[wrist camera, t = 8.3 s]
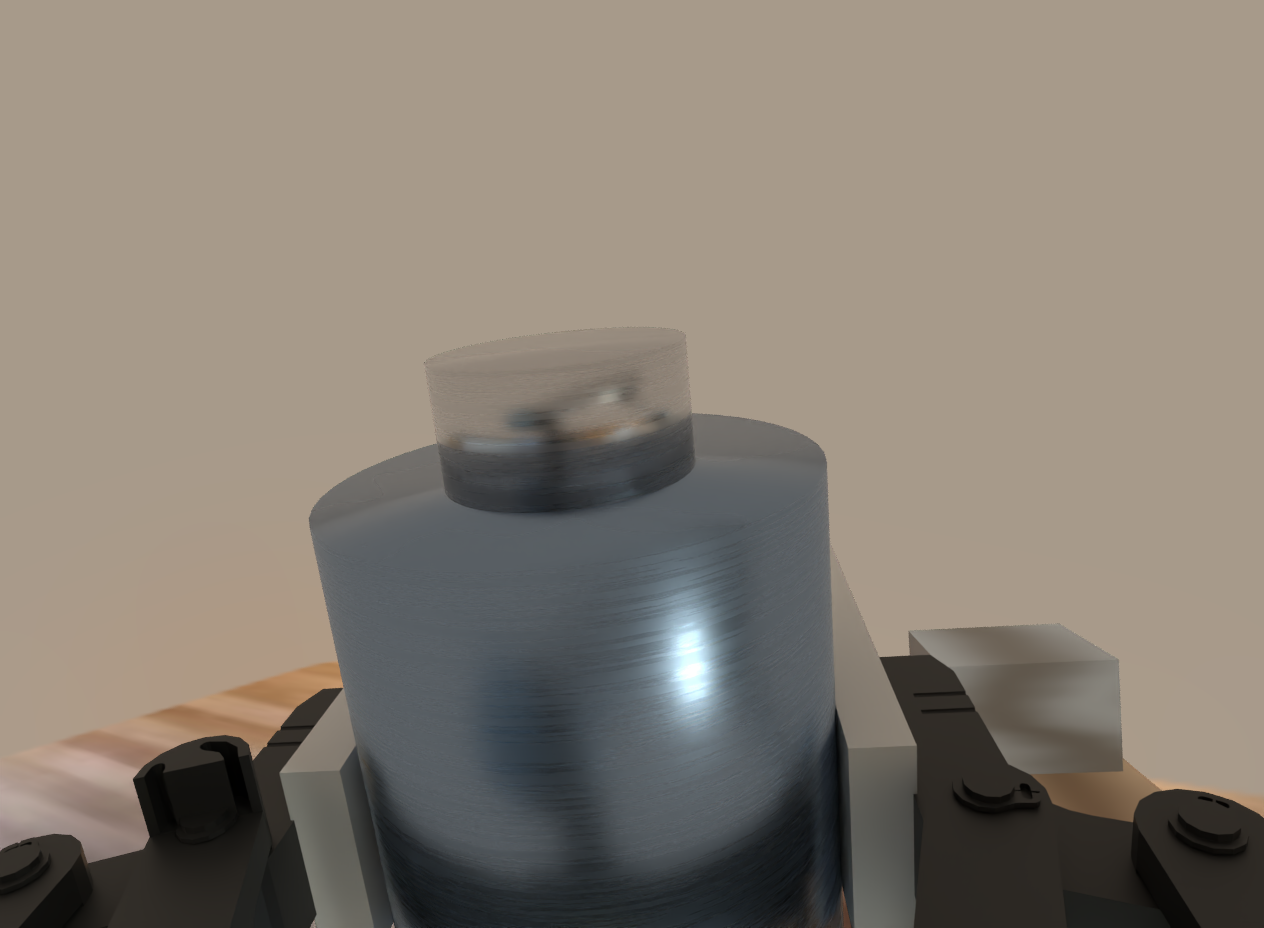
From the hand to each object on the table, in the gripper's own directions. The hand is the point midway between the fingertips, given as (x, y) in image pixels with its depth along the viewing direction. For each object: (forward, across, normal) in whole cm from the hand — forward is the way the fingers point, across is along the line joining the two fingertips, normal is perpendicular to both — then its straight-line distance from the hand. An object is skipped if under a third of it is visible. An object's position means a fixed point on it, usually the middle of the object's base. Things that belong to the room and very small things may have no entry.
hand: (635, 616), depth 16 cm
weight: (-5, 0, -6) cm, 8 cm away
